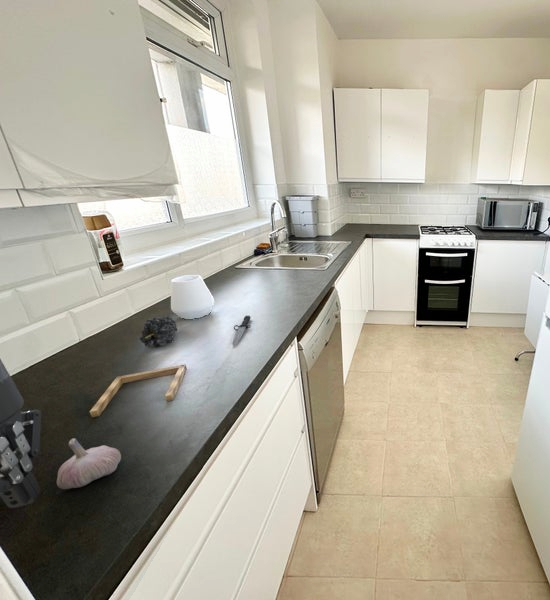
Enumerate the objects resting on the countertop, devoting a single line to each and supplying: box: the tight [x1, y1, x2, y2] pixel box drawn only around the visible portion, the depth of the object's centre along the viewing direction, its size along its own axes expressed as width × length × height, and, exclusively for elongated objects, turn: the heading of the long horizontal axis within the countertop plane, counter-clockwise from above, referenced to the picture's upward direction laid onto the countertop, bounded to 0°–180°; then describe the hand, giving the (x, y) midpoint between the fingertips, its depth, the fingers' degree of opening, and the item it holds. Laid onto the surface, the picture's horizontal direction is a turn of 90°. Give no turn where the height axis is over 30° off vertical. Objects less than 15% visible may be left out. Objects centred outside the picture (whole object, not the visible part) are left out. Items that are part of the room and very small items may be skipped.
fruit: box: [139, 315, 178, 348], centre depth 95 cm, size 9×8×15 cm
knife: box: [231, 315, 252, 346], centre depth 100 cm, size 19×2×5 cm
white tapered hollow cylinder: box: [170, 274, 215, 319], centre depth 111 cm, size 13×13×14 cm
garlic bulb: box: [56, 438, 122, 490], centre depth 50 cm, size 8×7×8 cm
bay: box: [89, 364, 188, 418], centre depth 73 cm, size 13×14×2 cm
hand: (27, 500), depth 39 cm, fingers closed
